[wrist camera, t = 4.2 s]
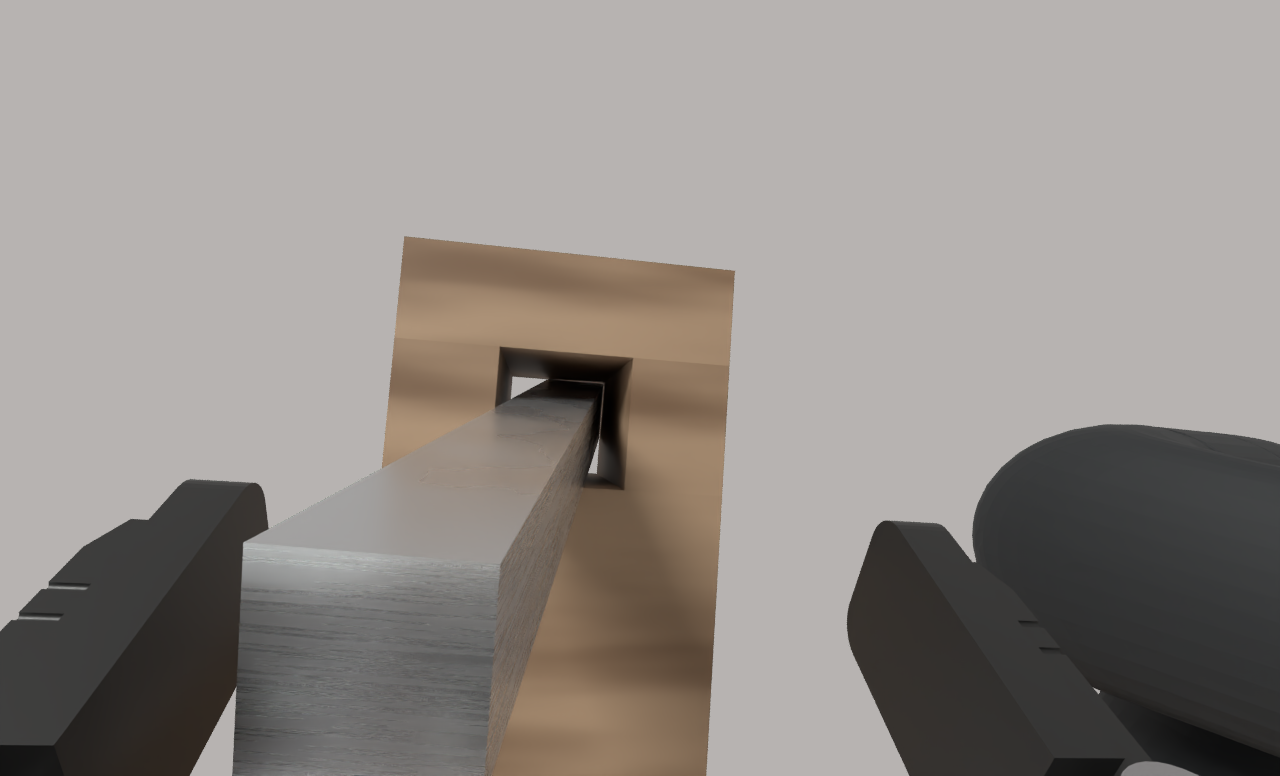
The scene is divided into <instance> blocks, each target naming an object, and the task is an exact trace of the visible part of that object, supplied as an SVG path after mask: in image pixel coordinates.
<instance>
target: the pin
mask: <svg viewBox="0 0 1280 776" xmlns="http://www.w3.org/2000/svg"><path fill="white" fill-rule="evenodd" d="M603 387H604V384H602V383H591V382H580V381H568V380H557V379H548V380H546V381H544V382H542V383H540V384H539V385H537V386H535V387H533V388H531V389H529V390H527V391H525V392H524V393H522V394H520V395H518V396H516V397H514V398H512V399H510V400H509V401H507V402H505V403H503V404H501V405H499V406H497V407H496V408H494V409H492V410H490V411H488V412H486V413H484V414H482V415H481V416H479V417H477V418H475V419H473V420H471V421H469V422H468V423H466V424H464V425H462V426H460V427H458V428H456V429H454V430H453V431H451V432H449V433H447V434H445V435H443V436H441V437H439V438H438V439H436V440H434V441H432V442H430V443H428V444H426V445H425V446H423V447H421V448H419V449H417V450H415V451H413V452H411V453H410V454H408V455H406V456H404V457H402V458H400V459H398V460H397V461H395V462H393V463H391V464H389V465H387V466H385V467H383V468H382V469H380V470H378V471H376V472H374V473H372V474H370V475H369V476H367V477H365V478H363V479H361V480H359V481H358V482H356V483H354V484H352V485H350V486H348V487H346V488H344V489H343V490H341V491H339V492H337V493H335V494H333V495H331V496H330V497H327V498H326V499H324V500H322V501H320V502H318V503H317V504H315V505H313V506H311V507H309V508H307V509H305V510H303V511H302V512H299V513H298V514H296V515H294V516H292V517H290V518H288V519H287V520H285V521H283V522H281V523H279V524H277V525H275V526H273V527H271V528H270V529H268V530H266V531H264V532H262V533H260V534H258V535H257V536H255V537H253V538H251V539H249V540H247V541H245V542H243V561H242V582H241V604H240V625H239V646H238V668H237V689H236V710H235V732H234V753H233V774H232V776H492V773H493V770H494V767H495V764H496V761H497V758H498V754H499V751H500V748H501V745H502V742H503V739H504V736H505V732H506V729H507V726H508V723H509V720H510V717H511V714H512V710H513V707H514V704H515V701H516V698H517V695H518V692H519V688H520V685H521V682H522V679H523V676H524V673H525V669H526V666H527V663H528V660H529V657H530V654H531V651H532V647H533V644H534V641H535V638H536V635H537V632H538V629H539V625H540V622H541V619H542V616H543V613H544V610H545V607H546V603H547V600H548V597H549V594H550V591H551V588H552V585H553V581H554V578H555V575H556V572H557V569H558V566H559V563H560V559H561V556H562V553H563V550H564V547H565V544H566V541H567V537H568V534H569V531H570V528H571V525H572V522H573V519H574V515H575V512H576V509H577V506H578V503H579V500H580V497H581V493H582V490H583V487H584V484H585V481H586V478H587V474H588V471H589V468H590V465H591V462H592V459H593V455H594V452H595V449H596V446H597V443H598V440H599V434H600V422H601V410H602V399H603Z"/></svg>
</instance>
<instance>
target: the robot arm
mask: <svg viewBox="0 0 1280 776" xmlns="http://www.w3.org/2000/svg"><path fill="white" fill-rule="evenodd" d="M268 529H269V528H268V520H267V512H266V504H265V497H264V493H263V490H262V488H261V487H260V486H259V485H258V484H257V483H245V482H228V481H210V480H193V479H190V480H186V481H185V482H183V483H182V484H181V485H180V486H179V487H178V488H177V489H176V490H175V491H174V492H173V493H172V494H171V495H170V497H169V498H168V499H167V500H166V501H165V502H164V503H163V504H162V505H161V507H160V508H159V509H158V510H157V511H156V512H155V513H154V514H153V516H152V517H151V518H150V519H149V520H138V519H130V520H128V521H127V522H125V523H123V524H122V525H120V526H118V527H116V528H115V529H113V530H112V531H110V532H108V533H106V534H104V535H103V536H101V537H100V538H98V539H96V540H94V541H92V542H91V543H89V544H87V545H86V546H84V547H83V548H82V549H81V550H80V551H79V552H78V553H77V554H76V555H75V556H74V557H73V558H72V559H71V560H70V561H69V562H68V563H67V564H66V565H65V566H64V567H63V568H62V569H61V570H60V571H59V572H58V573H57V574H56V575H55V576H54V577H53V578H52V579H51V580H50V581H49V586H48V588H47V589H41V590H40V591H39V592H38V594H36V596H34V597H33V599H32V600H31V601H30V602H29V603H28V604H27V605H26V606H25V607H24V608H23V609H22V610H21V611H20V612H19V618H18V619H17V620H11V621H10V622H9V623H8V624H7V625H6V626H5V627H4V628H3V629H2V630H1V631H0V776H190V774H191V772H192V770H193V768H194V766H195V764H196V762H197V760H198V759H199V757H200V755H201V753H202V751H203V749H204V747H205V745H206V743H207V741H208V740H209V738H210V736H211V734H212V732H213V730H214V728H215V726H216V724H217V722H218V721H219V719H220V717H221V715H222V713H223V711H224V709H225V707H226V705H227V703H228V701H229V700H230V698H231V696H232V694H233V692H234V690H235V688H236V686H237V668H238V646H239V625H240V604H241V582H242V561H243V542H245V541H247V540H249V539H251V538H253V537H255V536H257V535H258V534H260V533H262V532H264V531H266V530H268ZM972 536H973V548H974V552H975V557H976V562H977V563H976V562H972V561H971V560H970V559H969V557H968V556H967V555H966V554H965V552H964V551H963V550H962V548H961V547H960V546H959V545H958V543H957V542H956V541H955V539H954V538H953V537H952V536H951V534H950V533H949V532H948V531H947V530H946V528H945V527H943V526H942V525H940V524H937V523H920V522H903V521H901V522H900V521H883V522H881V523H880V524H879V525H878V526H877V527H876V529H875V531H874V533H873V536H872V539H871V542H870V545H869V548H868V551H867V554H866V556H865V560H864V562H863V566H862V568H861V571H860V574H859V577H858V580H857V583H856V586H855V589H854V592H853V595H852V598H851V601H850V604H849V608H848V615H847V631H848V638H849V643H850V647H851V650H852V652H853V655H854V657H855V659H856V661H857V664H858V666H859V668H860V670H861V672H862V674H863V676H864V679H865V681H866V683H867V685H868V687H869V689H870V692H871V694H872V696H873V698H874V700H875V702H876V705H877V707H878V709H879V711H880V713H881V715H882V717H883V720H884V722H885V724H886V726H887V728H888V730H889V733H890V735H891V737H892V739H893V741H894V743H895V746H896V748H897V750H898V752H899V754H900V756H901V758H902V761H903V763H904V764H905V767H906V769H907V771H908V774H909V776H1280V444H1277V443H1274V442H1269V441H1265V440H1261V439H1256V438H1250V437H1243V436H1237V435H1228V434H1220V433H1212V432H1200V431H1191V430H1180V429H1171V428H1162V427H1161V428H1160V427H1152V426H1144V425H1111V424H1110V425H1098V426H1093V427H1087V428H1081V429H1074V430H1070V431H1067V432H1064V433H1061V434H1058V435H1055V436H1052V437H1049V438H1046V439H1043V440H1042V441H1039V442H1037V443H1035V444H1033V445H1032V446H1030V447H1028V448H1026V449H1025V450H1023V451H1021V452H1020V453H1018V454H1017V455H1016V456H1015V457H1013V458H1012V459H1011V460H1010V461H1009V462H1007V463H1006V464H1005V465H1004V466H1003V467H1001V469H1000V470H999V471H998V472H997V473H996V475H995V476H994V477H993V478H992V480H991V481H990V482H989V483H988V484H987V486H986V488H985V491H984V492H983V494H982V496H981V498H980V500H979V502H978V505H977V508H976V512H975V515H974V521H973V534H972ZM1094 688H1096V689H1098V690H1100V693H1099V695H1098V693H1097V692H1096V691H1095V690H1094Z"/></svg>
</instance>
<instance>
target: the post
mask: <svg viewBox="0 0 1280 776" xmlns="http://www.w3.org/2000/svg"><path fill="white" fill-rule="evenodd" d="M734 275H735V271H731V270H722V269H712V268H702V267H693V266H683V265H673V264H664V263H655V262H654V263H653V262H645V261H635V260H626V259H616V258H606V257H597V256H587V255H577V254H568V253H559V252H549V251H538V250H529V249H520V248H511V247H501V246H491V245H482V244H472V243H463V242H452V241H443V240H433V239H424V238H415V237H404V246H403V256H402V266H401V277H400V287H399V298H398V308H397V318H396V329H395V338H394V349H393V360H392V370H391V380H390V390H389V391H390V392H389V401H388V411H387V421H386V431H385V442H384V452H383V462H382V468H383V467H385V466H387V465H389V464H391V463H393V462H395V461H397V460H398V459H400V458H402V457H404V456H406V455H408V454H410V453H411V452H413V451H415V450H417V449H419V448H421V447H423V446H425V445H426V444H428V443H430V442H432V441H434V440H436V439H438V438H439V437H441V436H443V435H445V434H447V433H449V432H451V431H453V430H454V429H456V428H458V427H460V426H462V425H464V424H466V423H468V422H469V421H471V420H473V419H475V418H477V417H479V416H481V415H482V414H484V413H486V412H488V411H490V410H492V409H494V408H496V407H497V406H499V405H501V404H503V403H505V402H507V401H509V400H510V399H511V386H512V376H514V377H526V378H540V379H557V380H568V381H580V382H591V383H602V384H604V387H603V399H602V410H601V424H600V439H599V453H598V466H597V474H592V473H588V474H587V478H586V481H585V484H584V487H583V490H582V493H581V497H580V500H579V503H578V506H577V509H576V512H575V515H574V519H573V522H572V525H571V528H570V531H569V534H568V537H567V541H566V544H565V547H564V550H563V553H562V556H561V559H560V563H559V566H558V569H557V572H556V575H555V578H554V581H553V585H552V588H551V591H550V594H549V597H548V600H547V603H546V607H545V610H544V613H543V616H542V619H541V622H540V625H539V629H538V632H537V635H536V638H535V641H534V644H533V647H532V651H531V654H530V657H529V660H528V663H527V666H526V669H525V673H524V676H523V679H522V682H521V685H520V688H519V692H518V695H517V698H516V701H515V704H514V707H513V710H512V714H511V717H510V720H509V723H508V726H507V729H506V732H505V736H504V739H503V742H502V745H501V748H500V751H499V754H498V758H497V761H496V764H495V767H494V770H493V773H492V776H706V769H707V768H706V767H707V751H708V749H707V748H708V733H709V716H710V698H711V680H712V663H713V645H714V627H715V609H716V592H717V574H718V556H719V540H720V522H721V504H722V487H723V468H724V451H725V434H726V433H725V432H726V416H727V399H728V380H729V361H730V346H731V327H732V310H733V293H734Z"/></svg>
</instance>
